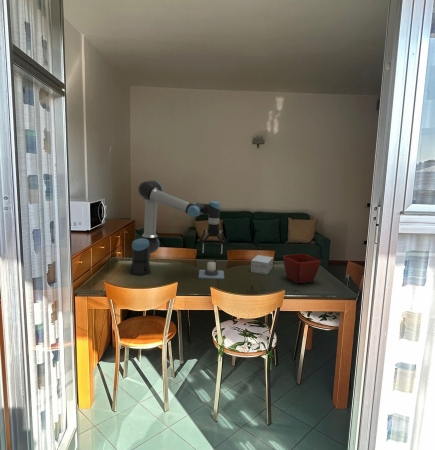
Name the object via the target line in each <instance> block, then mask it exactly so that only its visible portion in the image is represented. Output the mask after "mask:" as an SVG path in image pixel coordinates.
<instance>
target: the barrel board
mask: <svg viewBox="0 0 435 450" xmlns="http://www.w3.org/2000/svg"><path fill="white" fill-rule="evenodd" d="M224 271H225V270H219V269H217V268H216V272H208V271H207V268H206V269H198V277H197V278H198V279H210V280H225V273H224Z"/></svg>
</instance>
